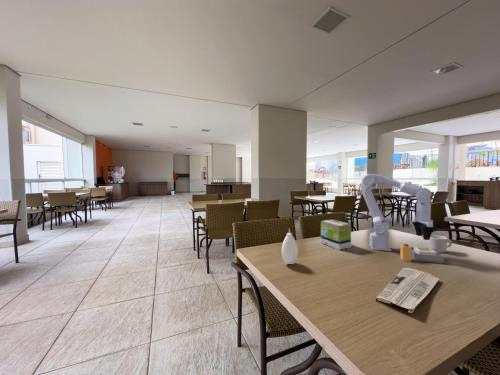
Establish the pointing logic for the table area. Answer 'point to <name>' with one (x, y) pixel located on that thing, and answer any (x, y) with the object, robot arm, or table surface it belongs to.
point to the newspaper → (408, 288)
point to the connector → (405, 252)
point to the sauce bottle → (289, 249)
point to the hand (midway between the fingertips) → (422, 237)
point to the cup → (439, 243)
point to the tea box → (336, 234)
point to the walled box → (426, 255)
